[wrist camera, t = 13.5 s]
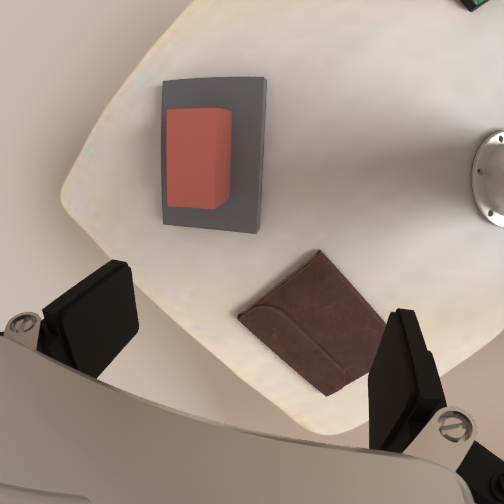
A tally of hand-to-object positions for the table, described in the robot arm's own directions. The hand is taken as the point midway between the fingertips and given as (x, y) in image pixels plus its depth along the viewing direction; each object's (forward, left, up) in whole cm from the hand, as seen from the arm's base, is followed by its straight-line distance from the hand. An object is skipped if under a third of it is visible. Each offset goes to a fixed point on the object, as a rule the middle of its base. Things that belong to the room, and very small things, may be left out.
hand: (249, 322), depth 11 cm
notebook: (-6, +20, -29) cm, 35 cm away
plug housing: (+10, -3, -26) cm, 28 cm away
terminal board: (+10, -3, -28) cm, 30 cm away
